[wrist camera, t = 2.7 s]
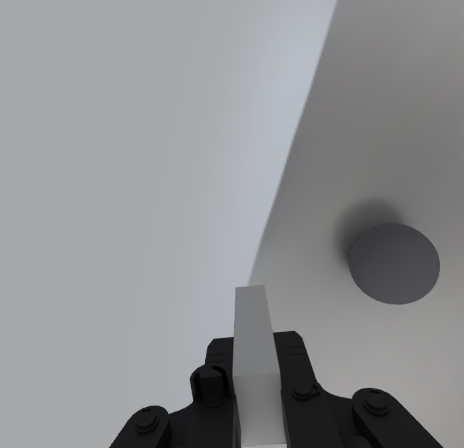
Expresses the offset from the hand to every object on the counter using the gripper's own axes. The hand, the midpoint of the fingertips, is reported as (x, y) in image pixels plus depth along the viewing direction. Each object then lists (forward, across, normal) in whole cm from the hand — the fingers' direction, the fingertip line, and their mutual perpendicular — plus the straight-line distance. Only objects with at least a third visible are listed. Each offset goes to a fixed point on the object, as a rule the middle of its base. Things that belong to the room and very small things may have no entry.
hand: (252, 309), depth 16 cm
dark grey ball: (+5, -10, 0) cm, 11 cm away
